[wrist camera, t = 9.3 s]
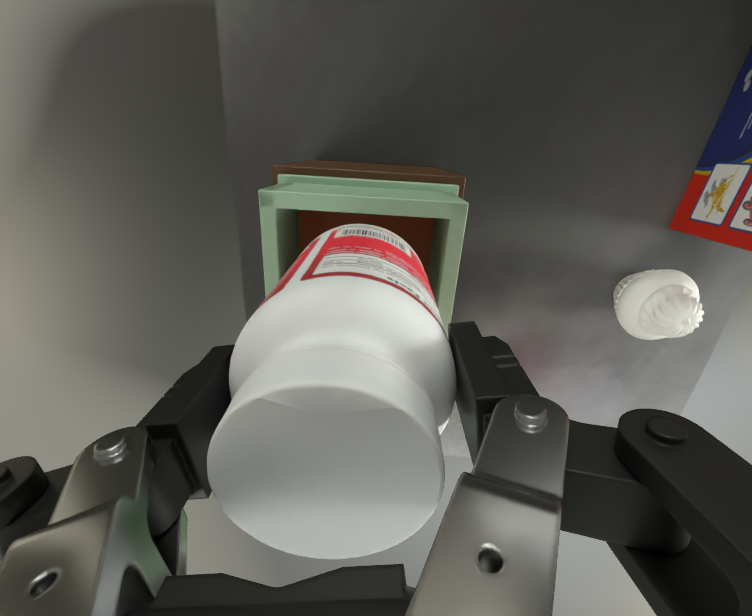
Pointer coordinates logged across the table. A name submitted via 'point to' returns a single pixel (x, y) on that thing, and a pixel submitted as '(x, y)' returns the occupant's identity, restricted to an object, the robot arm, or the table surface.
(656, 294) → the muffin
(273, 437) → the pill bottle
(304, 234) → the rack
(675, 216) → the red cardboard box
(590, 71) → the table surface
